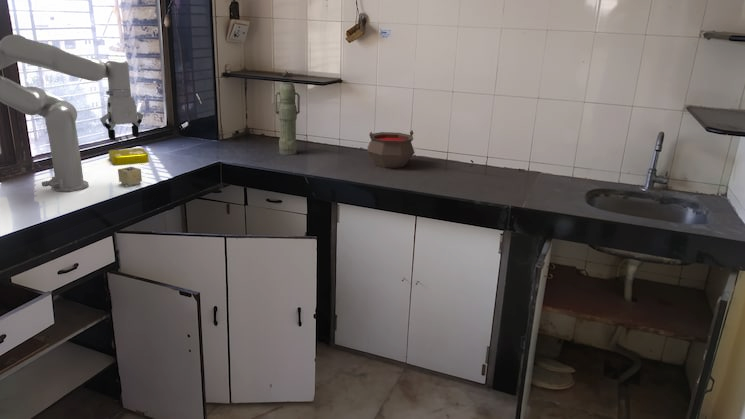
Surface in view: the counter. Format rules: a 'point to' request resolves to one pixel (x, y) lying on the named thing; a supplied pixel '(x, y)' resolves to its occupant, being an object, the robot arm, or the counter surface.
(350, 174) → the counter surface
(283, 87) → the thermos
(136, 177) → the tan box with hole
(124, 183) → the grey post on base
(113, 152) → the element tile
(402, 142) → the brown cauldron
